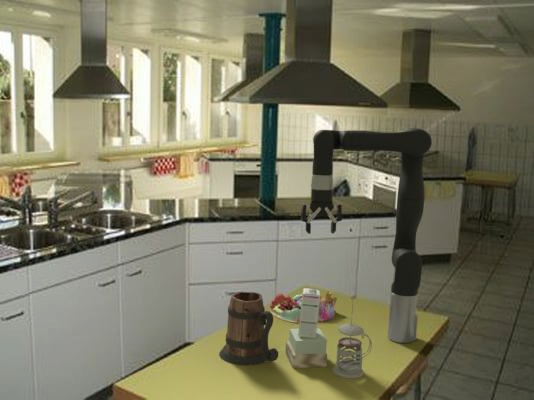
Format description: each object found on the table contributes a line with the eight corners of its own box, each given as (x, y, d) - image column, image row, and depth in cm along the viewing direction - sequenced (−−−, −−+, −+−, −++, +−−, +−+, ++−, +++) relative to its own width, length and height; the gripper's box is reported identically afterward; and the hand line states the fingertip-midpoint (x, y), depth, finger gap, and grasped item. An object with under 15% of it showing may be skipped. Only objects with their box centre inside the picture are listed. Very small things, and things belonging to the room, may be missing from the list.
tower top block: (318, 341, 193) (319, 328, 193) (326, 353, 184) (326, 340, 183) (289, 341, 192) (289, 328, 191) (295, 354, 182) (295, 340, 181)
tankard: (208, 351, 191) (210, 293, 188) (248, 339, 202) (250, 284, 199) (254, 378, 174) (256, 315, 171) (294, 363, 185) (297, 303, 182)
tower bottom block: (317, 353, 195) (318, 340, 194) (326, 367, 184) (327, 354, 183) (285, 354, 193) (285, 341, 192) (292, 369, 182) (293, 355, 181)
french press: (329, 364, 186) (334, 289, 182) (365, 364, 187) (370, 289, 183) (335, 378, 176) (340, 299, 172) (373, 378, 177) (379, 300, 173)
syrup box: (316, 338, 184) (321, 295, 181) (297, 336, 184) (302, 292, 182) (315, 332, 189) (321, 289, 187) (297, 329, 190) (302, 287, 187)
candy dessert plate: (297, 299, 248) (298, 278, 246) (345, 312, 234) (347, 290, 232) (261, 314, 228) (262, 292, 226) (312, 330, 214) (313, 306, 213)
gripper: (304, 189, 197) (303, 235, 199) (344, 188, 199) (343, 235, 201) (299, 186, 204) (298, 231, 206) (339, 186, 206) (337, 230, 209)
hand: (320, 233), depth 204 cm, fingers open, 8 cm apart
